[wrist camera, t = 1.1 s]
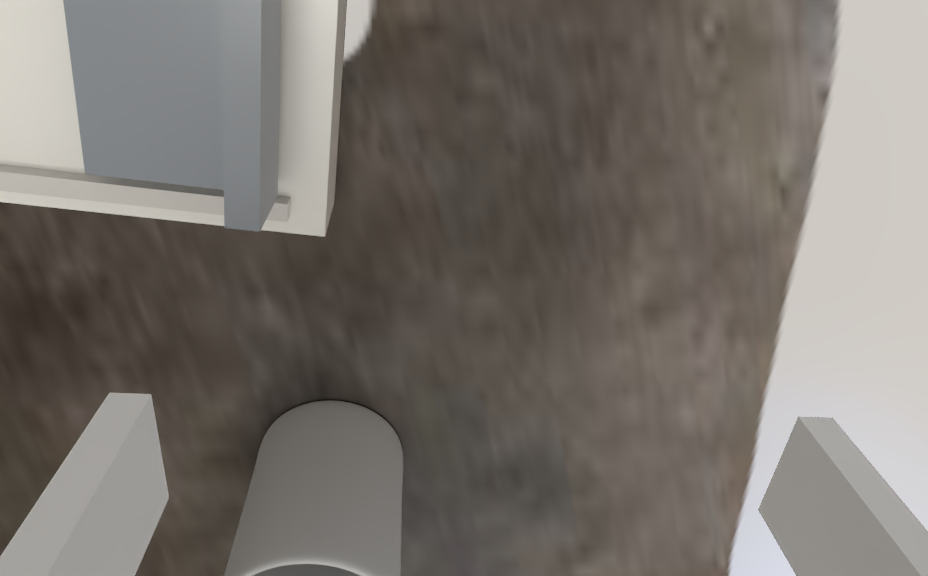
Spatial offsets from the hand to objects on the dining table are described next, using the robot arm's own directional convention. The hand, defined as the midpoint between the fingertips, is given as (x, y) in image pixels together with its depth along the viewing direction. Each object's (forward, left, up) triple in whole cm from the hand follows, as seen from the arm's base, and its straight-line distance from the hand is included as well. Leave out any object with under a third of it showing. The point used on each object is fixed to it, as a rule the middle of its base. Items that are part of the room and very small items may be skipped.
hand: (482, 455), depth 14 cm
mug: (-4, -21, -21) cm, 30 cm away
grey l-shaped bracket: (-10, +3, -16) cm, 19 cm away
